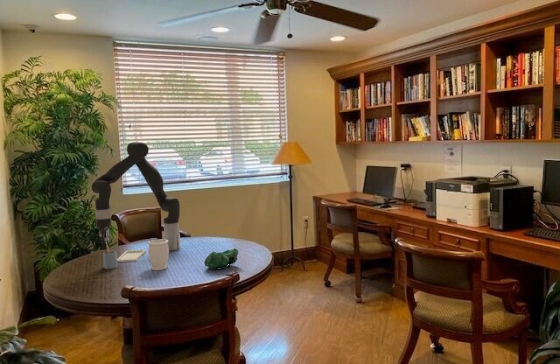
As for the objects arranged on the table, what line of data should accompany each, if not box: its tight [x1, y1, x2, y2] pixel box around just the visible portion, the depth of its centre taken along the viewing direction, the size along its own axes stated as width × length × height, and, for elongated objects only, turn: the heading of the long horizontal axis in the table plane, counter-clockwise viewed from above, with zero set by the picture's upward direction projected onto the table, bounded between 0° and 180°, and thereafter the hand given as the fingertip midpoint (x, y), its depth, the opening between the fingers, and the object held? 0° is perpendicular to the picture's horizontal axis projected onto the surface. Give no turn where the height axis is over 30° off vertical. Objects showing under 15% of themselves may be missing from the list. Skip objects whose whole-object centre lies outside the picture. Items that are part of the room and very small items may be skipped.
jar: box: [147, 238, 170, 271], centre depth 232 cm, size 11×10×15 cm
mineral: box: [204, 247, 239, 270], centre depth 231 cm, size 18×16×10 cm
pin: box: [103, 242, 111, 254], centre depth 234 cm, size 6×2×16 cm, turn 94°
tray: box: [117, 249, 147, 263], centre depth 255 cm, size 12×22×2 cm, turn 5°
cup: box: [102, 250, 118, 270], centre depth 234 cm, size 7×7×9 cm
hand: (105, 248), depth 233 cm, fingers closed on pin, 2 cm apart
